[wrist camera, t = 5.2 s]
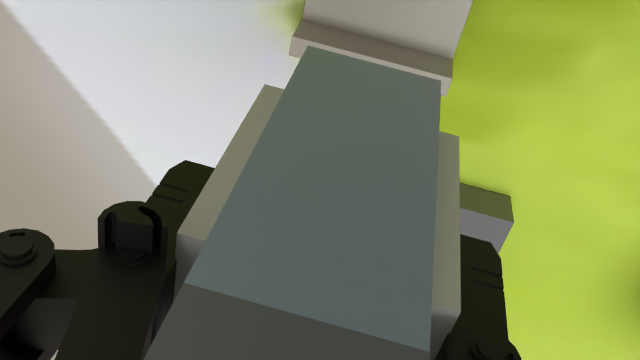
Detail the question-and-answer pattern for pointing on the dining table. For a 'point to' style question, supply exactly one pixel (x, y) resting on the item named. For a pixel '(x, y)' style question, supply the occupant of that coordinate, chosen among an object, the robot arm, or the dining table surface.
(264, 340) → the plug
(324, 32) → the grey u-shaped block
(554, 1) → the dining table surface
